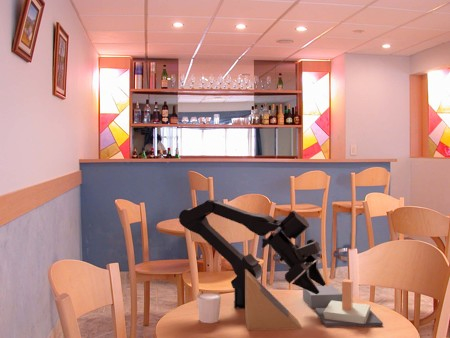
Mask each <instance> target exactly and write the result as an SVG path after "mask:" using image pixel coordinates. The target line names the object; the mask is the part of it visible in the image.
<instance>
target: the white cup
mask: <svg viewBox="0 0 450 338" xmlns="http://www.w3.org/2000/svg"><path fill="white" fill-rule="evenodd" d="M221 300H222V296H221V294H219V293H216V292H204V293H199V294H197V295H196V301H197V302H196V303H197V310H198V311H197V312H198V321H199V320H200V321H201V322H200V321H199V322H200V323H203V324H212V323H213V324H214V323H217V322H219V320H220V309H221Z"/></svg>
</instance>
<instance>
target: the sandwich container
mask: <svg viewBox="0 0 450 338" xmlns="http://www.w3.org/2000/svg"><path fill="white" fill-rule="evenodd" d="M244 309H245V310H244V313H245V314H244V322H245V325H246V329H247V330H248V331H249V330H251V331H252V330H255V331H256V330H302V329H303V327H302V324H301V323H300V321H299V320H298V318H297V317H296V316H295V315H294V314H293V313H291V311H290V310H289V309H287V308H286V306H284V304H283V303H281V301H280V300H278V299H277V297H276V296H274V295H273V294H272V292H270V290H268V289H267V288H266V287H265V286H264V285H263V284H262V283H261V282H260V281H259V280H258V279H256V278H255V277H254V276H253V275H252V274H251V273H250V272H249V271H248V270H247V269H245V308H244Z"/></svg>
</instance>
